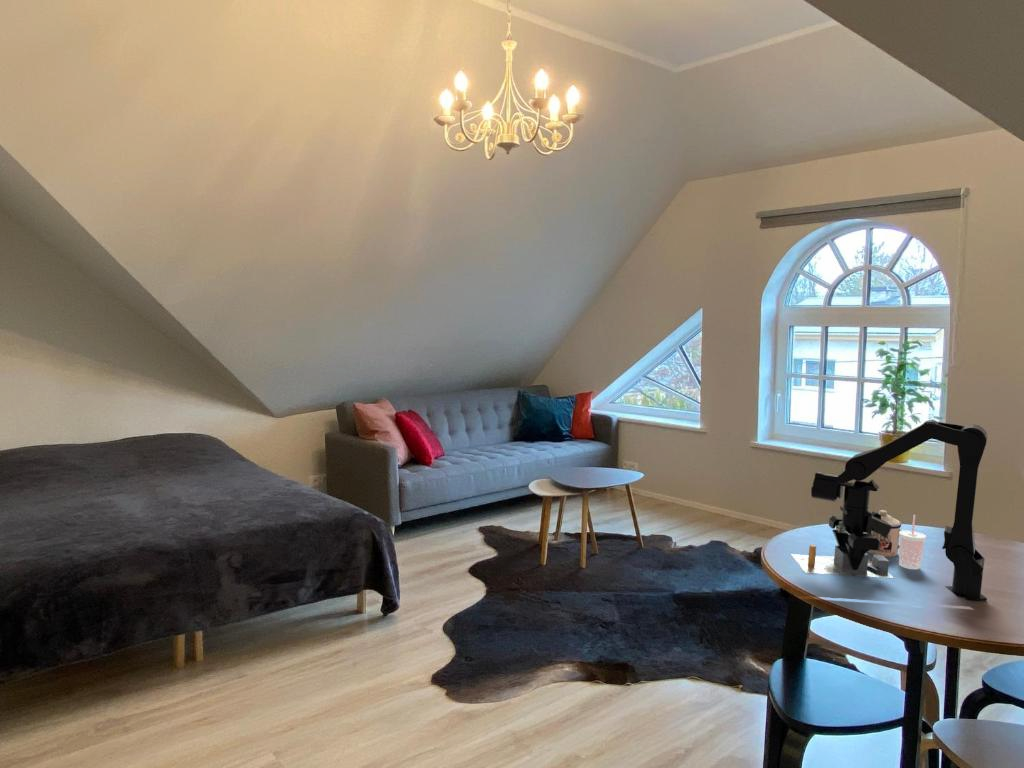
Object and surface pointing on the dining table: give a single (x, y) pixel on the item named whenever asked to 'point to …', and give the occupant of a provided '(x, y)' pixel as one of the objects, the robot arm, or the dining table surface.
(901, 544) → the beverage cup
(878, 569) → the tie plate
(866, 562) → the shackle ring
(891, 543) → the teacup with lid
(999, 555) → the dining table surface
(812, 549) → the post
